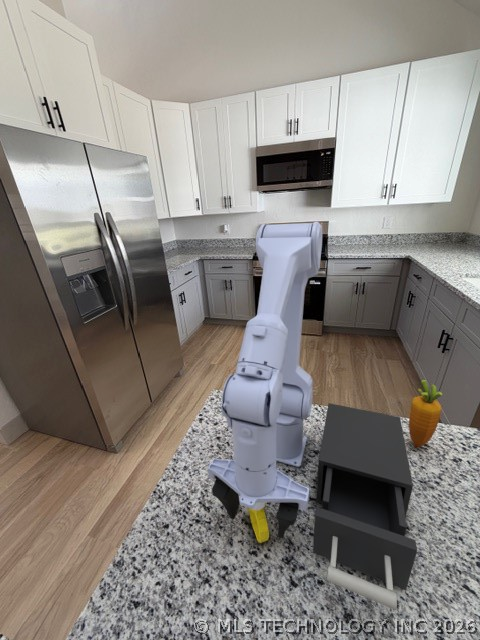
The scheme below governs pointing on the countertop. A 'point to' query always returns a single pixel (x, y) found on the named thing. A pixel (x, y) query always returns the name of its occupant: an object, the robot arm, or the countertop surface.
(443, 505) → the countertop surface
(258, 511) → the watch
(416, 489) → the countertop surface
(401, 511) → the dark gray drawer
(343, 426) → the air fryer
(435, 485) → the countertop surface
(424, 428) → the carrot
